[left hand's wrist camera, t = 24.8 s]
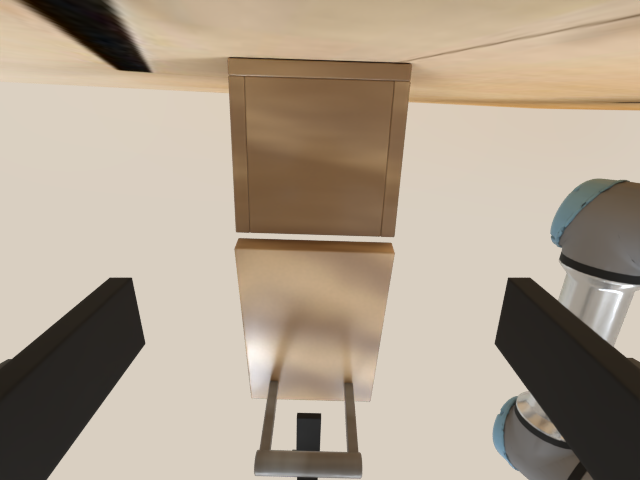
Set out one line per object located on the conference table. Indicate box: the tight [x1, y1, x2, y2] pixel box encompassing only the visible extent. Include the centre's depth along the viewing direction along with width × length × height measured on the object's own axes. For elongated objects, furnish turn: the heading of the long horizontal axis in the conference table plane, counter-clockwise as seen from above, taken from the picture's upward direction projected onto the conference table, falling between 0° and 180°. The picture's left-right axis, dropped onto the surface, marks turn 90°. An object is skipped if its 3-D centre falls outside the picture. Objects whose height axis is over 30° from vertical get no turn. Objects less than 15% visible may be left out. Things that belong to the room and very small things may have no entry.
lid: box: [235, 238, 395, 479], centre depth 24 cm, size 15×10×8 cm
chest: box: [228, 58, 412, 237], centre depth 28 cm, size 15×10×10 cm
